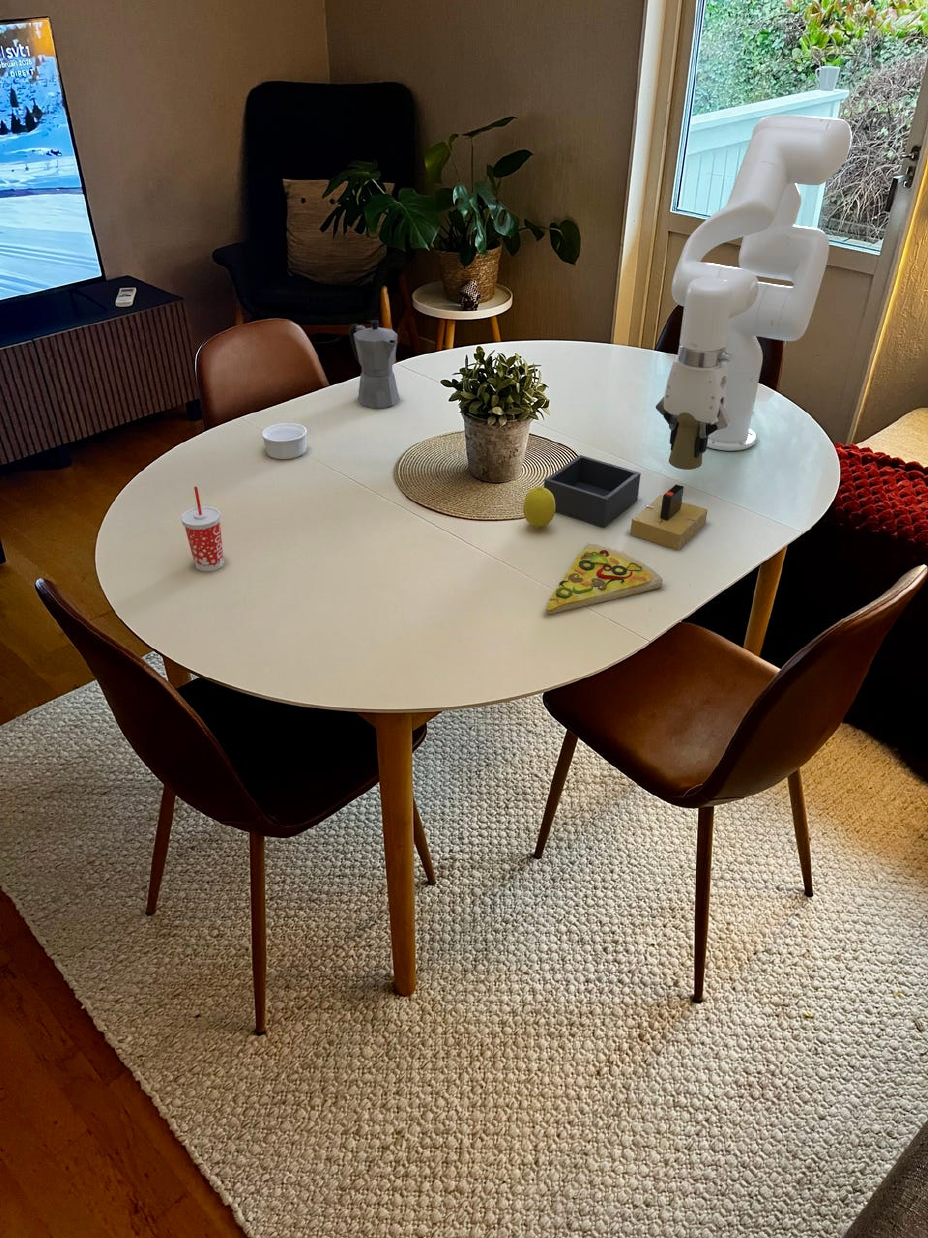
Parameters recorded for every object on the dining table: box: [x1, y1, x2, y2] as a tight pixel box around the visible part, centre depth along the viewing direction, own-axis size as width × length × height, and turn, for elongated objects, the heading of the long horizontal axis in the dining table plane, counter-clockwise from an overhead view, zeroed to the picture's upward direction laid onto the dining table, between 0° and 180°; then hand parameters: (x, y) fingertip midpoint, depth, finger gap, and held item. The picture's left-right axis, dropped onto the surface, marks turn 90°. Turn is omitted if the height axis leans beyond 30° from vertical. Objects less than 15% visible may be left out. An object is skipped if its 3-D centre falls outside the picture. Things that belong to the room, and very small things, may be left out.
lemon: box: [522, 485, 556, 529], centre depth 164 cm, size 6×6×8 cm
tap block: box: [629, 494, 709, 551], centre depth 165 cm, size 11×9×3 cm
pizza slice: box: [545, 542, 663, 616], centre depth 149 cm, size 16×21×3 cm
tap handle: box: [660, 483, 685, 521], centre depth 163 cm, size 5×2×5 cm, turn 144°
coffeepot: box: [348, 319, 401, 410], centre depth 207 cm, size 15×9×18 cm, turn 44°
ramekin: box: [261, 422, 308, 460], centre depth 189 cm, size 9×9×4 cm
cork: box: [668, 412, 703, 471], centre depth 171 cm, size 6×6×11 cm
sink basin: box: [543, 454, 642, 529], centre depth 172 cm, size 13×13×6 cm
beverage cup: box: [180, 486, 225, 572], centre depth 152 cm, size 6×6×14 cm
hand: (687, 450), depth 173 cm, fingers closed on cork, 3 cm apart
